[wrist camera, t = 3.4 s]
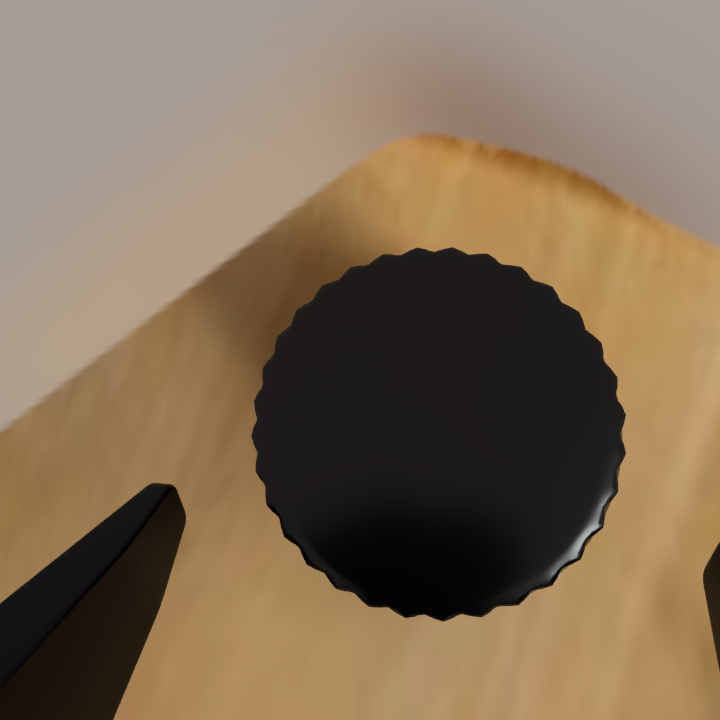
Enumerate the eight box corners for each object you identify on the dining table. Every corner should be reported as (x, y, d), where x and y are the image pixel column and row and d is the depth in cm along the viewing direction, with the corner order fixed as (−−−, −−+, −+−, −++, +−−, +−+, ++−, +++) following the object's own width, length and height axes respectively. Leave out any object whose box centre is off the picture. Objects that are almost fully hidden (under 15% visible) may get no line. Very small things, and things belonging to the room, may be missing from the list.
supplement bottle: (310, 380, 20) (111, 286, 8) (490, 301, 19) (563, 74, 7) (385, 571, 18) (282, 797, 7) (581, 491, 18) (847, 583, 6)
